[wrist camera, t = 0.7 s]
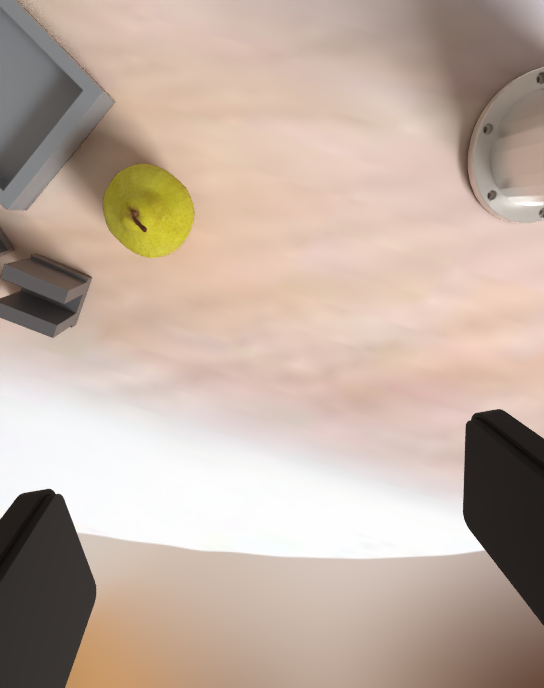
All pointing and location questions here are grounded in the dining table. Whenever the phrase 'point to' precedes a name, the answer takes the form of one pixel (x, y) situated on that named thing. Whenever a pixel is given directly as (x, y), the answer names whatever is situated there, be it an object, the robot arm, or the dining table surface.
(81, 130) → the grey square tray
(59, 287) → the clip
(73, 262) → the dining table surface
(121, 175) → the fruit
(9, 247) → the clip
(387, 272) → the dining table surface
